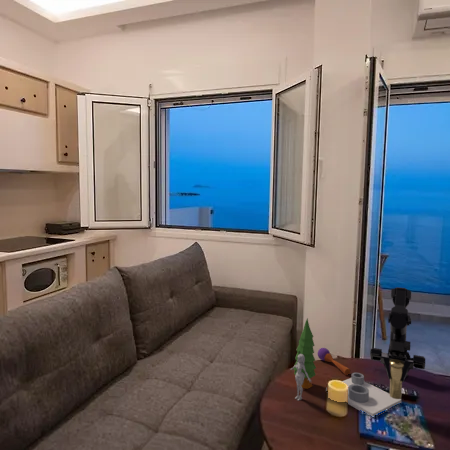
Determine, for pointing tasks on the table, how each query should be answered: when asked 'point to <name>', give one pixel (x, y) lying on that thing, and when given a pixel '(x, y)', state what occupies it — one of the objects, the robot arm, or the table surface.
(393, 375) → the disc
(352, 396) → the socket plate
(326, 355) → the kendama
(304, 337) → the decorative tree
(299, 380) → the human figurine
